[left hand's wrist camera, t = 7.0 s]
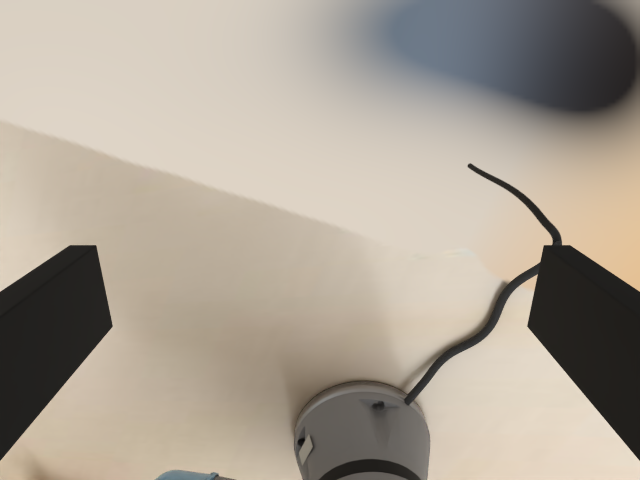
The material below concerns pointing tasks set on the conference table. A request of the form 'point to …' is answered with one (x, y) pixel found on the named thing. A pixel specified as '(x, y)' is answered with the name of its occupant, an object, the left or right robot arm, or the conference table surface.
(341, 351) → the conference table surface
